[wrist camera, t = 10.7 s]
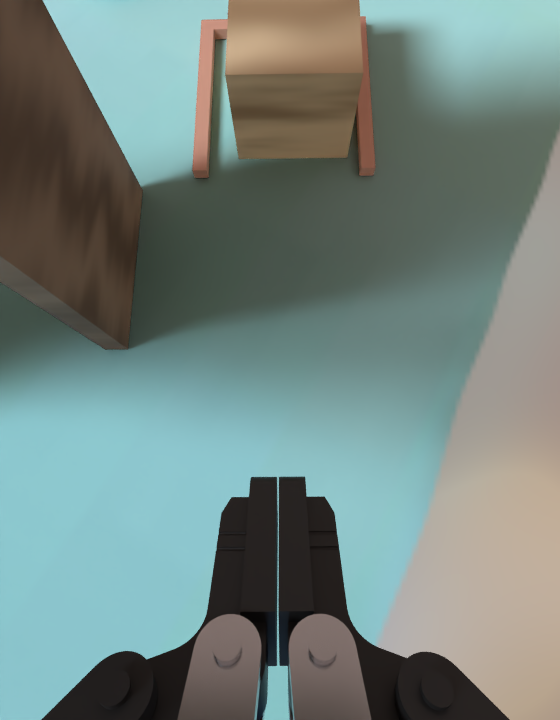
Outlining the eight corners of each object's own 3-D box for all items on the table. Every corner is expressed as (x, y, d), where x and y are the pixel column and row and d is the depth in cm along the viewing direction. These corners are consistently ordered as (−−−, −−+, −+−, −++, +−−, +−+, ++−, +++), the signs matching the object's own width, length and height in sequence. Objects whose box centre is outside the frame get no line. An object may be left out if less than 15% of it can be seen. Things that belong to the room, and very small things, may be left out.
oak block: (346, 159, 31) (363, 72, 24) (239, 160, 31) (225, 74, 24) (342, 53, 33) (356, -53, 27) (242, 54, 34) (230, -50, 27)
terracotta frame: (373, 175, 30) (375, 168, 30) (194, 177, 31) (192, 170, 30) (363, 26, 34) (365, 16, 33) (203, 30, 34) (201, 19, 33)
